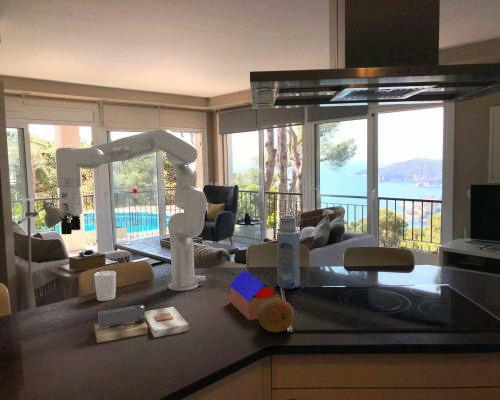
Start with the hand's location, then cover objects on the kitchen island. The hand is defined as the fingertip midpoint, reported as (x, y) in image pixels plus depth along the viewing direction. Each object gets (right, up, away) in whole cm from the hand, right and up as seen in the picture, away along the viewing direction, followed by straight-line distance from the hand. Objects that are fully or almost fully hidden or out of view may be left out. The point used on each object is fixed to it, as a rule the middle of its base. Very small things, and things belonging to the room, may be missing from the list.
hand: (71, 232), depth 138 cm
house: (+65, -28, +1) cm, 70 cm away
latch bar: (+24, -27, -18) cm, 40 cm away
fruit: (+70, -29, -18) cm, 78 cm away
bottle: (+79, -25, +28) cm, 88 cm away
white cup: (+7, -27, +15) cm, 32 cm away
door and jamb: (+28, -29, -15) cm, 43 cm away
